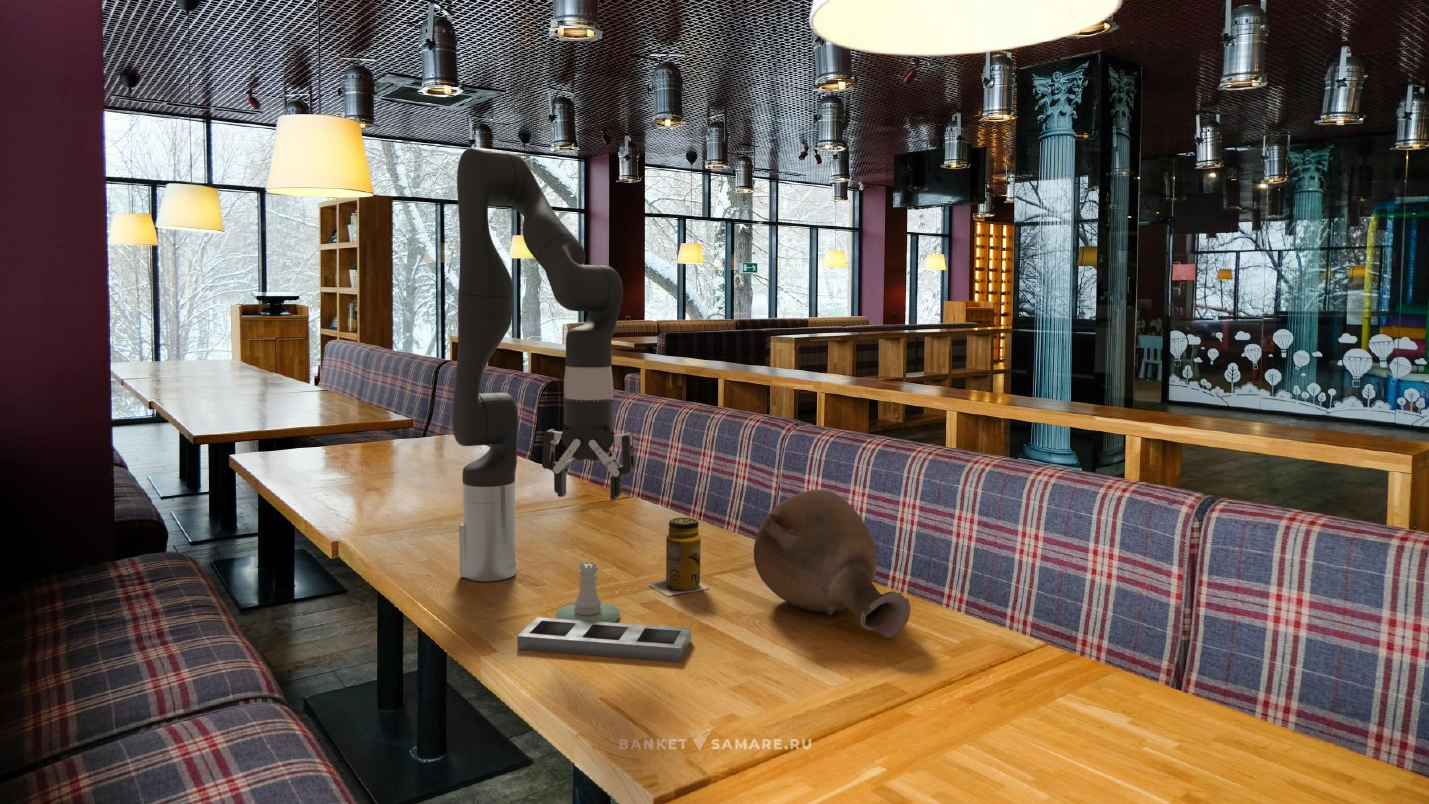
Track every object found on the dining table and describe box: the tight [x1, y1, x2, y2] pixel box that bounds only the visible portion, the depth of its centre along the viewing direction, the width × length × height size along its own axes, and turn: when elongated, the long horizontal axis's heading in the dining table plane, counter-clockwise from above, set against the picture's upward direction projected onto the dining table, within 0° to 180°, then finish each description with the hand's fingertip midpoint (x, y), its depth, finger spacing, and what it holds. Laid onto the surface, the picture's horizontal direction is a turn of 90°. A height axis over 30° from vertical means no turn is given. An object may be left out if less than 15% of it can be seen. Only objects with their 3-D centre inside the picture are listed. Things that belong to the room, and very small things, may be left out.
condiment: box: [647, 517, 710, 597], centre depth 163 cm, size 7×8×12 cm
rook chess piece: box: [573, 560, 602, 616], centre depth 148 cm, size 4×4×8 cm
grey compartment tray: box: [517, 616, 692, 663], centre depth 136 cm, size 24×8×2 cm, turn 81°
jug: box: [753, 489, 911, 639], centre depth 150 cm, size 20×20×30 cm
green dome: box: [555, 602, 621, 623], centre depth 148 cm, size 10×10×1 cm
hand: (588, 497), depth 146 cm, fingers open, 8 cm apart
